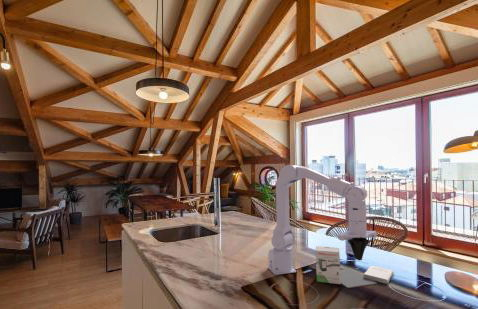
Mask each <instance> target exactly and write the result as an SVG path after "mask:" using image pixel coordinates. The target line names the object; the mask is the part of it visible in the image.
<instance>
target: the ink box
mask: <svg viewBox="0 0 478 309" xmlns="http://www.w3.org/2000/svg"><path fill="white" fill-rule="evenodd" d="M315 261H316V262H315V264H316V265H315V266H316V269H315V270H316V282H317V283H327V284H328V283H329V284H336V285H342V284H341V275H340V270H341V257H340V248H339V247H334V246H323V245H321V246H320V245H317V246H315Z"/></svg>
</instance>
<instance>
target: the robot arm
mask: <svg viewBox="0 0 478 309" xmlns="http://www.w3.org/2000/svg"><path fill="white" fill-rule="evenodd" d="M302 179H309V180H311V181H313V182H315V183H319V184H321V185H324V186H326V187H327V191H329V192H332V193H334V194H336V195H338V196H340V197H343V198H346V200H347V201H348V208H347V210H348V230H347V231H345V232H342V233H341V232H340V233H337V234H338V236H337V238H338V240H339V241H343V242H344V241H347V242H348V244H349V245H350V247H351V249H352V253H353V256H354V259H355V260H357V261H362V260H363V258H364V254H365V250H366V248H367V246H368V245H369V243H370V240H369V239H368V238H378V233H377V231H375V230H367V206H366V198H367V196H368V192H367V190H366V188H365V187H363V186H362V185H359V184H356V183H355V182H350V181H346V180H344V179H342V176H331V177H329V176H326V175H324V174H322V173H320V172H318V171H316V170H314V169H313V168H310V167H307V166H302V165H300V164H294V165H292V164H286V165H284V167H282V168H281V169H280V170H279V175H278V178H277V179H276V181H275V196H276V197H275V198H276V199H275V201H276V206H275V207H276V211H275V212H276V213H275V214H276V225H275V227H274V228H273V233H272V237H271V241H270V242H271V245H272V247H273V248H271V249H269V250H268V253H267V254H268V259H267V260H268V266H267V269H268V270H270V271H271V272H272V273H273V275H277V276H278V275H285V274H292V273H297V270H296V269H295V268H293V246H292V245H293V244H294V242H295V239H296V238H295V235H294V232H293V227H292V226H291V223H290V221H291V220H290V187H291V186H292V185H293V184H294V183H295V182H298V181H300V180H302Z"/></svg>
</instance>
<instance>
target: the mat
mask: <svg viewBox="0 0 478 309" xmlns="http://www.w3.org/2000/svg"><path fill="white" fill-rule="evenodd" d="M340 275H341V284H340V285H343V287H346V288H347V289H351V288H358V287H365V286H371V285H377V284H378V282H377V281H373V280H369V279H366V278H364V277H363V273H360V272H358V271H357V270H355V269H353V268H345V269H340Z"/></svg>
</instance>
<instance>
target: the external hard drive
mask: <svg viewBox="0 0 478 309" xmlns="http://www.w3.org/2000/svg"><path fill="white" fill-rule="evenodd" d="M362 275H363V277H364V278H366V279H369V280H373V281H374V282H376V283H382V284H388V283H389V282H390V280H391V278H392V277H393V275H394V270H393V269H391V268H390V269H389V268H386V267H382V266H381V267H380V266H376V265H370V266H369V267H368V269H366V271H365V272H364V273H362Z"/></svg>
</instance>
